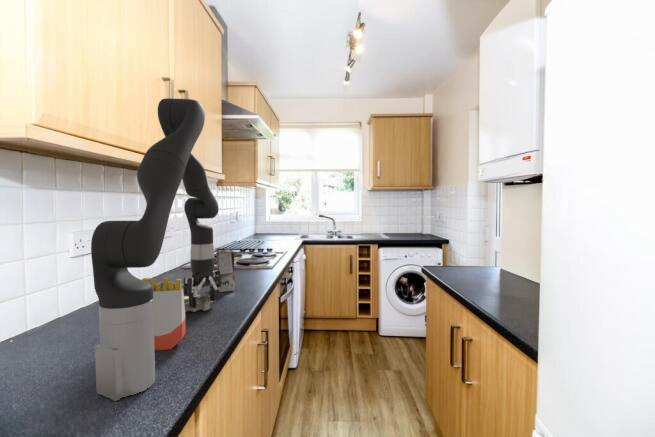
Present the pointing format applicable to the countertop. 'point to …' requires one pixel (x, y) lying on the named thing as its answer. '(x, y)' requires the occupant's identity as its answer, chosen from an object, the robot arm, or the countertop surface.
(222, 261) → the coffee box
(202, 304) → the grey irregular chunky piece
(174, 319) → the french fries container
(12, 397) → the countertop surface
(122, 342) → the robot arm
